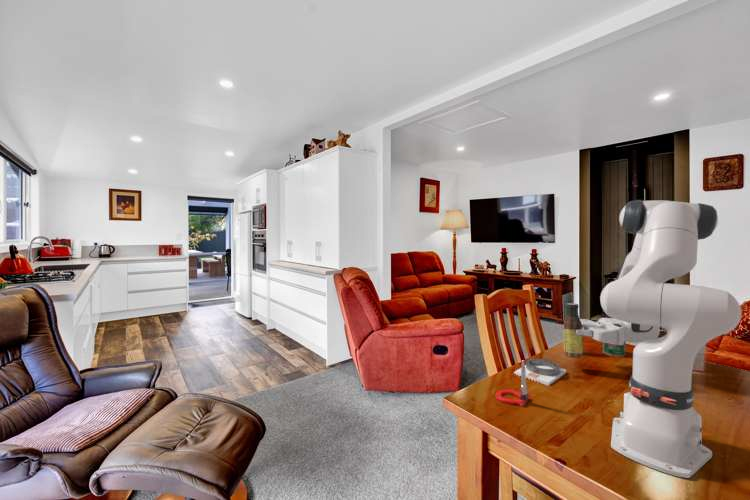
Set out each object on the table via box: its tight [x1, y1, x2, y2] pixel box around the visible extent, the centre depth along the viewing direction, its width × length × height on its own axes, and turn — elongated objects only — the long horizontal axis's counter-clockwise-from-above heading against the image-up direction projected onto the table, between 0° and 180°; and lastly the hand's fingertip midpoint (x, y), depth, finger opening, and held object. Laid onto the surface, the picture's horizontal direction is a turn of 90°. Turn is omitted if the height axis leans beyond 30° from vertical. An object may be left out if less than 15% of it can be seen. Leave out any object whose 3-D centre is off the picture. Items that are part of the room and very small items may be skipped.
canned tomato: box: [602, 341, 627, 357], centre depth 142 cm, size 8×8×11 cm
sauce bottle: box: [563, 302, 584, 359], centre depth 125 cm, size 7×6×20 cm
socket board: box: [513, 358, 567, 386], centre depth 121 cm, size 16×12×3 cm
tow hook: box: [495, 359, 531, 407], centre depth 103 cm, size 8×13×9 cm
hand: (570, 329), depth 125 cm, fingers closed on sauce bottle, 6 cm apart
